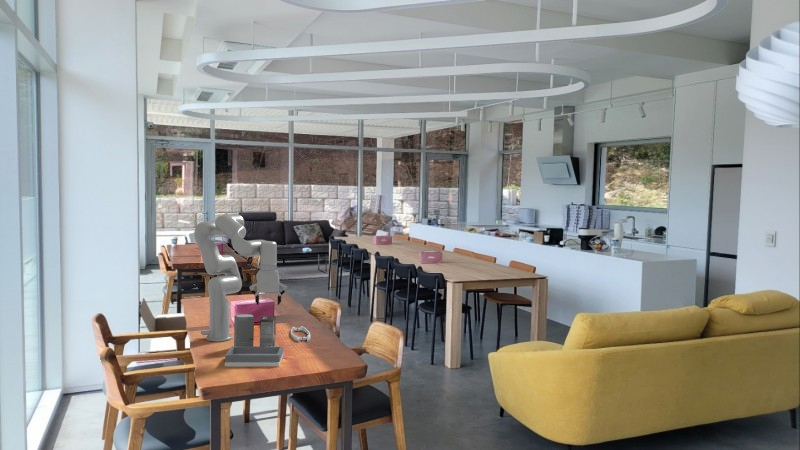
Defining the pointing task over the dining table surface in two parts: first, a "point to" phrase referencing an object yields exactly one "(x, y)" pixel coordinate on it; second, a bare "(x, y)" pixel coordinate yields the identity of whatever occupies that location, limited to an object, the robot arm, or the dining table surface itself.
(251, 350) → the grey tray
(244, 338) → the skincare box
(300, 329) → the grey bumpy ring
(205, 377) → the dining table surface
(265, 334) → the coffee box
